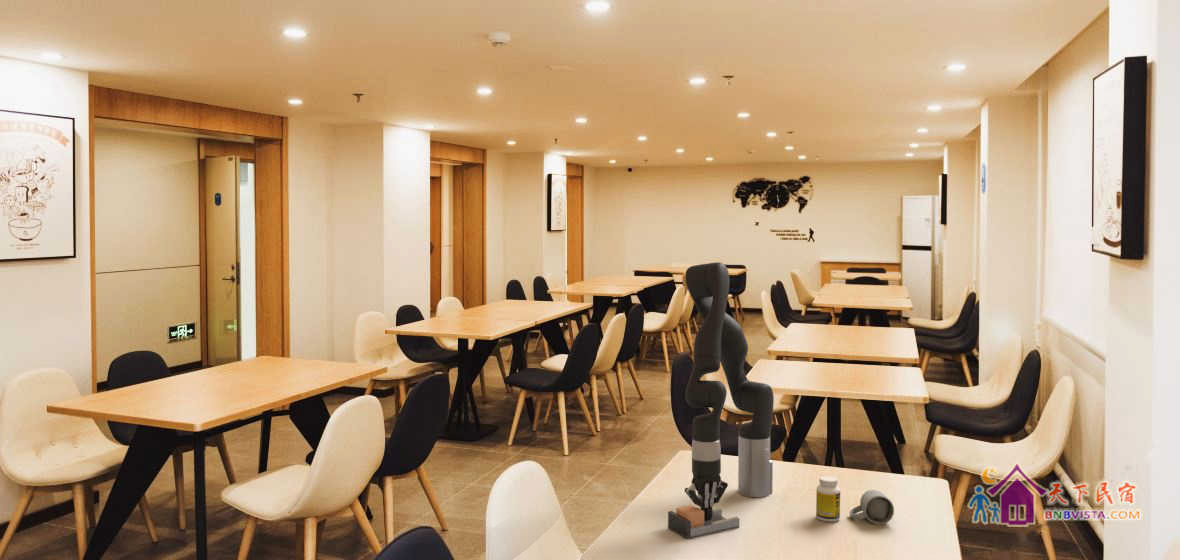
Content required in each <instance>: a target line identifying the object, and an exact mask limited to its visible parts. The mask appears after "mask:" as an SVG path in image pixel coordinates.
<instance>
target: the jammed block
mask: <svg viewBox="0 0 1180 560" xmlns="http://www.w3.org/2000/svg"><path fill="white" fill-rule="evenodd" d="M675 511H676V512H675V513H677V514H678V515H680V516H682V517H684V518H686V519H687V520H689V521H691V527H693V526H697V525H702V524H704V511H703V510H701V508H699V507H696V505H693V504H689V505H684V506H679V507H676V508H675Z"/></svg>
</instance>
